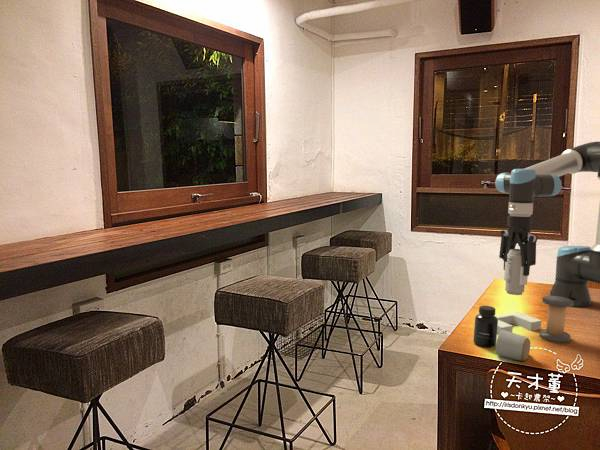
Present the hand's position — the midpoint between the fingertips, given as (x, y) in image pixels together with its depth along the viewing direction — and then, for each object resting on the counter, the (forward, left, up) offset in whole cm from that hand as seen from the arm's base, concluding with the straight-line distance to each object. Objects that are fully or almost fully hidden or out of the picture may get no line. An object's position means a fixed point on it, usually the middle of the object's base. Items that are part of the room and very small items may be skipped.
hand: (515, 282), depth 169 cm
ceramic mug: (+18, +18, -17) cm, 30 cm away
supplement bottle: (+19, +7, -17) cm, 26 cm away
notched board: (0, -1, -17) cm, 17 cm away
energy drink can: (0, 0, -4) cm, 4 cm away
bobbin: (-6, +12, -17) cm, 21 cm away
